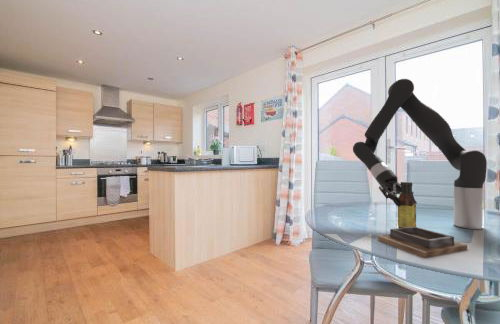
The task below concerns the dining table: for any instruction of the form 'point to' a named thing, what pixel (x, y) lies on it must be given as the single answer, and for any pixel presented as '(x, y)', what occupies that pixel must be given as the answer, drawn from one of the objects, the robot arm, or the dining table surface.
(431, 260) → the dining table surface
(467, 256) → the dining table surface
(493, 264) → the dining table surface
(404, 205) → the sauce bottle
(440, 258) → the dining table surface
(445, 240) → the walnut dock board
